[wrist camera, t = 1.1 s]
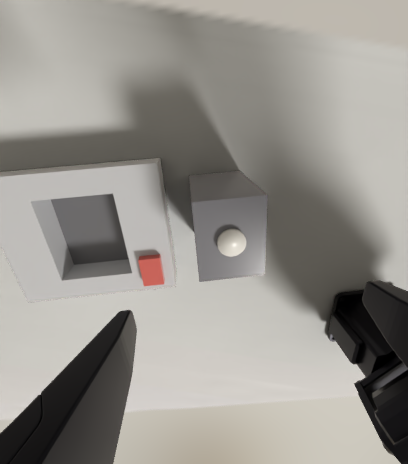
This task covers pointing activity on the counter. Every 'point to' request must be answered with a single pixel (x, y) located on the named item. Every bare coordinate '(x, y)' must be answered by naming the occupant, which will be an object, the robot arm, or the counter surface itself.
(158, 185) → the socket
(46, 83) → the counter surface
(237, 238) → the plug
